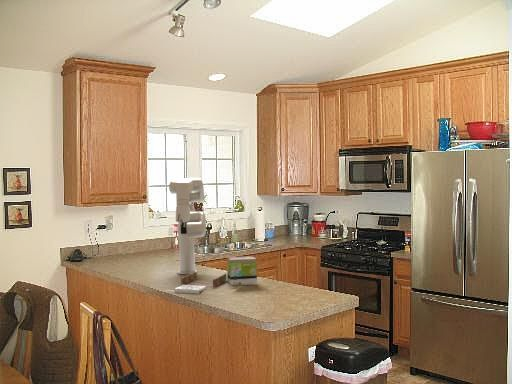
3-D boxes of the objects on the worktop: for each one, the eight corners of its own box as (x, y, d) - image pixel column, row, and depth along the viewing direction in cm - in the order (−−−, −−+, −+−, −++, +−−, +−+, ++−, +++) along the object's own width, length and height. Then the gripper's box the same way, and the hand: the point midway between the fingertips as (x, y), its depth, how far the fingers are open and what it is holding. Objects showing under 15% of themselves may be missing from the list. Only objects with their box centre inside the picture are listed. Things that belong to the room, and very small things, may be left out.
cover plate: (183, 289, 296) (183, 284, 296) (206, 290, 292) (206, 285, 292) (174, 293, 287) (174, 288, 287) (199, 294, 282) (198, 290, 282)
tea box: (231, 286, 299) (230, 259, 298) (227, 283, 308) (226, 257, 308) (257, 284, 303) (257, 258, 302) (252, 281, 312) (252, 255, 312)
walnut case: (194, 280, 316) (194, 272, 316) (226, 282, 310) (226, 273, 310) (181, 286, 300) (181, 277, 300) (214, 288, 294) (214, 279, 294)
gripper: (182, 201, 327) (183, 232, 327) (171, 203, 312) (172, 235, 313) (194, 201, 324) (195, 232, 325) (183, 203, 310) (183, 235, 311)
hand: (183, 233), depth 319 cm, fingers closed
